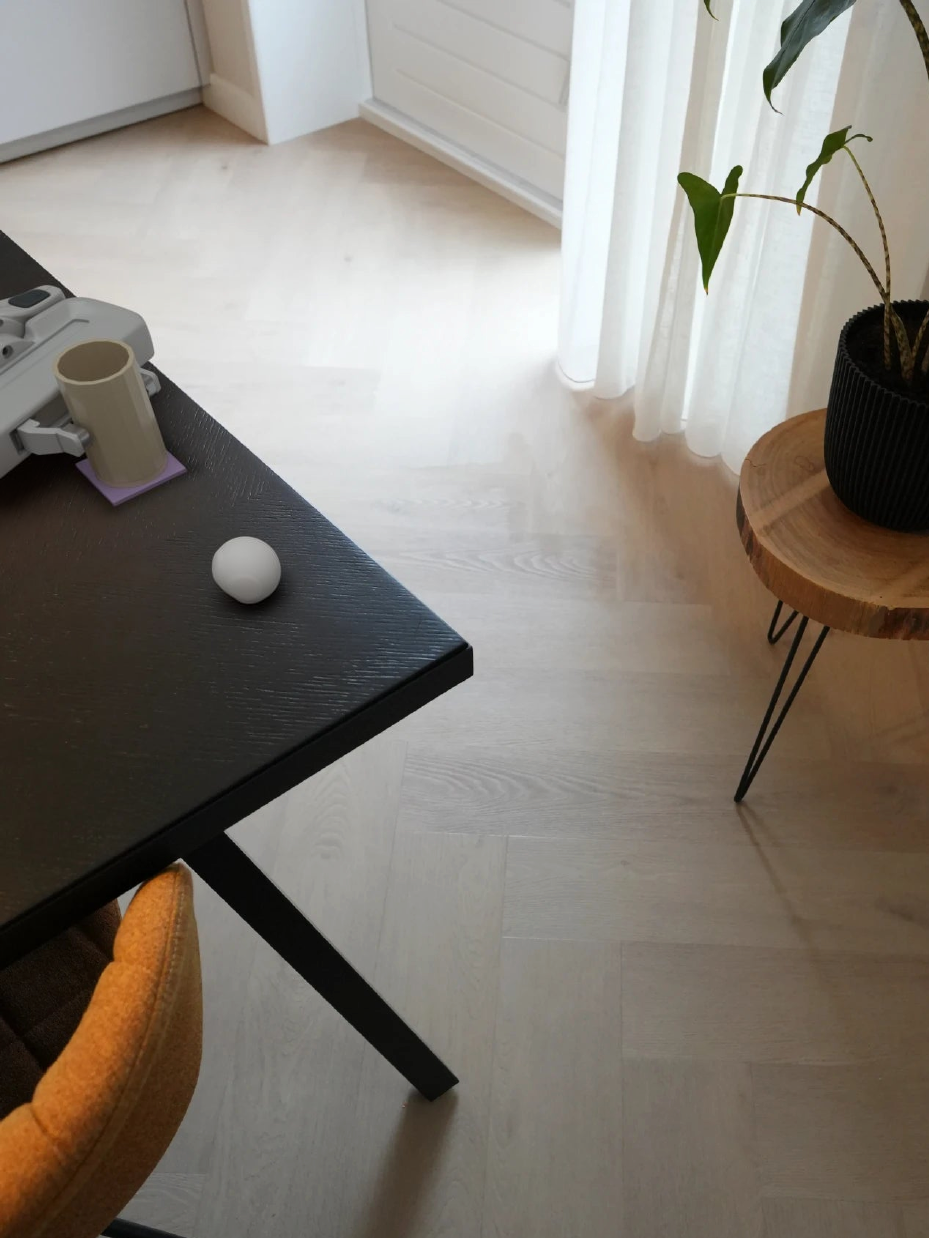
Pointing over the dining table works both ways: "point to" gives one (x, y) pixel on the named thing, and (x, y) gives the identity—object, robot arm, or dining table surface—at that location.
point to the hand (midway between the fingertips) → (119, 414)
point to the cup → (112, 411)
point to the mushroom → (246, 569)
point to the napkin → (124, 494)
